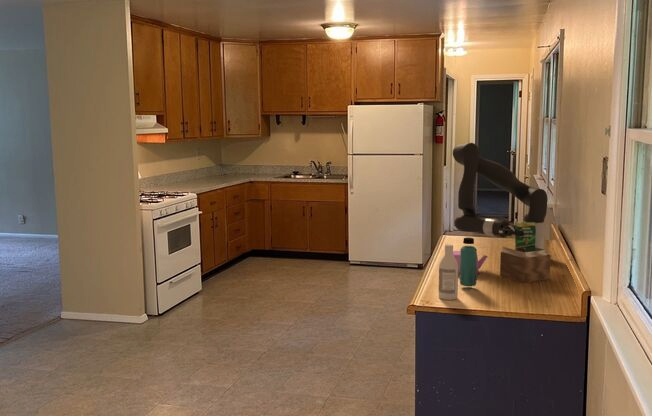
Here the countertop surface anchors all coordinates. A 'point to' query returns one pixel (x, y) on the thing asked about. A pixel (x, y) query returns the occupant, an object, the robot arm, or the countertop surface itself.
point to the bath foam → (448, 275)
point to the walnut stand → (525, 265)
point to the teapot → (480, 262)
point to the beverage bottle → (468, 263)
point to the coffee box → (525, 236)
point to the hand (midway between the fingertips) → (529, 232)
